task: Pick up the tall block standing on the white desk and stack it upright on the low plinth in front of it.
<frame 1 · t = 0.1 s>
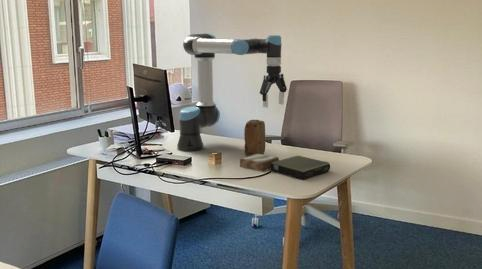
hand: (273, 105, 281), 28 cm above the table, fingers open, 13 cm apart
block: (254, 157, 287), on the table
plinth: (259, 165, 269), on the table
network switch: (300, 172, 259), on the table
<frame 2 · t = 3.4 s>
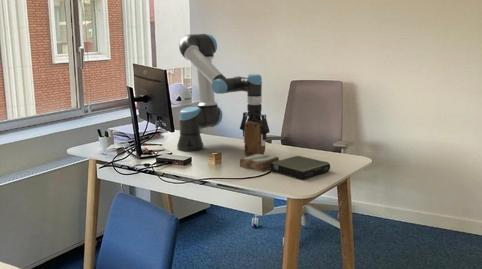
hand: (254, 144, 285), 7 cm above the table, fingers closed on block, 11 cm apart
block: (254, 157, 287), on the table, touching gripper
everything else where it was.
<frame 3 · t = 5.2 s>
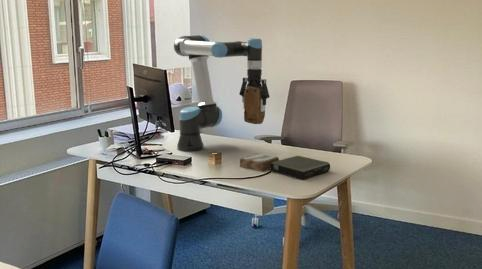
hand: (254, 110, 282), 26 cm above the table, fingers closed on block, 11 cm apart
block: (253, 123, 283), point 18 cm above the table, touching gripper
everything else where it was.
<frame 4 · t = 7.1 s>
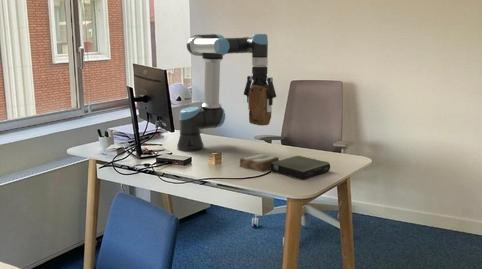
hand: (259, 110, 263), 28 cm above the table, fingers closed on block, 11 cm apart
block: (259, 124, 264), point 21 cm above the table, touching gripper
everything else where it was.
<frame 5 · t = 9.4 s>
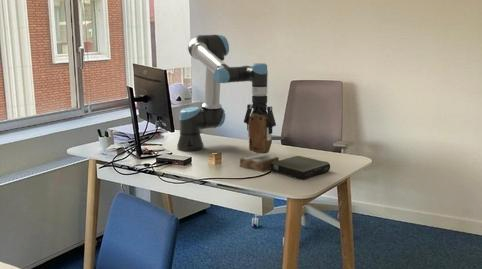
hand: (259, 138, 266), 14 cm above the table, fingers closed on block, 11 cm apart
block: (259, 152, 267), point 7 cm above the table, touching gripper
everything else where it was.
when the fingers open (12 cm above the table, at t = 10.9 s): block drops 1 cm, resting on plinth.
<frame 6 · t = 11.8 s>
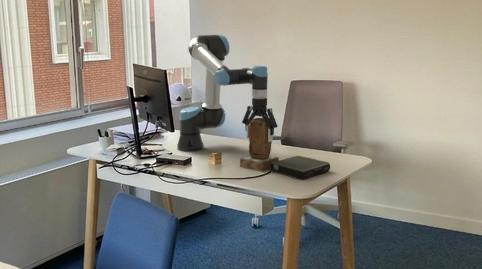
hand: (259, 139, 266), 14 cm above the table, fingers open, 13 cm apart
block: (259, 157, 268), point 4 cm above the table, touching plinth
everything else where it was.
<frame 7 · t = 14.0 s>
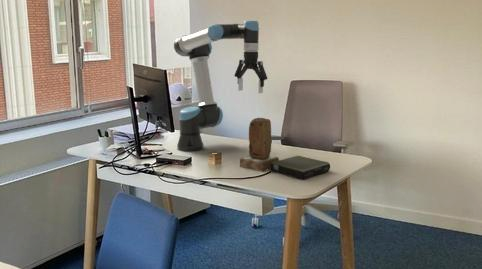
hand: (250, 91, 280), 35 cm above the table, fingers open, 13 cm apart
nothing on the table moved.
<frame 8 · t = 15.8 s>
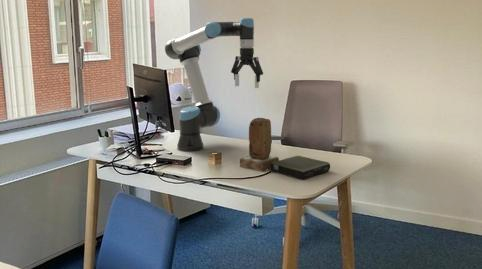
hand: (246, 87, 288), 37 cm above the table, fingers open, 13 cm apart
nothing on the table moved.
at the end: block inside the target area on the plinth (0.1 cm from its centre), point 4.1 cm above the plinth's base; block tilted 0°; block touching plinth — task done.
